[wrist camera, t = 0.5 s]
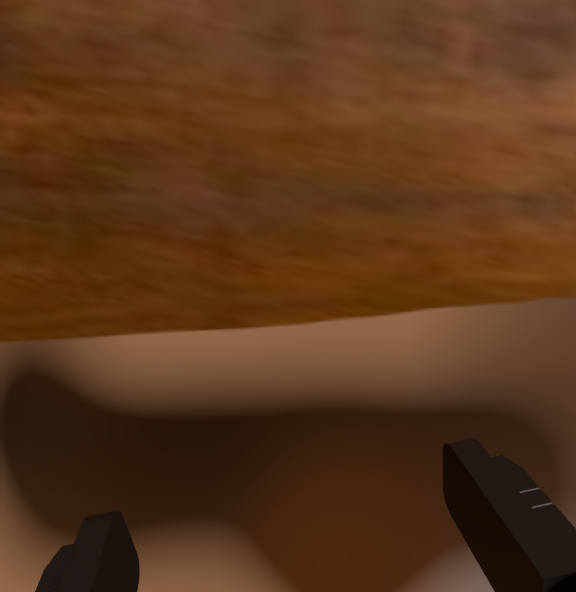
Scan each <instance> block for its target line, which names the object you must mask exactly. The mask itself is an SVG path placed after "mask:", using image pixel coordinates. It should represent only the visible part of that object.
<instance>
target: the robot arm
mask: <svg viewBox="0 0 576 592" xmlns="http://www.w3.org/2000/svg"><path fill="white" fill-rule="evenodd" d="M443 493H444V498H445V502H446V505H447V508H448V510H449V513H450V515H451V517H452V518H453V520H454V522H455V524H456V525H457V527H458V529H459V531H460V532H461V534H462V536H463V538H464V539H465V541H466V543H467V544H468V546H469V548H470V550H471V551H472V553H473V555H474V557H475V558H476V560H477V562H478V563H479V565H480V567H481V569H482V570H483V572H484V574H485V576H486V577H487V579H488V581H489V582H490V584H491V586H492V588H493V590H494V591H495V592H576V529H575V528H574V526H573V525H572V524H571V523H570V522H569V521H568V519H567V518H566V517H565V516H564V515H563V514H562V513H561V511H560V510H559V509H558V508H557V507H556V506H555V505H553V504H552V502H551V500H550V499H549V498H548V496H547V495H546V494H545V493H544V492H543V491H542V490H540V489H539V486H538V485H537V484H536V483H535V481H534V480H533V479H532V478H531V477H530V476H529V475H528V473H527V472H526V471H525V470H524V469H523V468H522V467H520V466H519V465H517V464H515V463H514V462H512V461H511V460H509V459H507V458H506V457H504V456H503V455H500V456H495V457H491V456H490V455H489V454H488V452H487V451H486V450H485V448H484V447H483V446H482V445H481V443H480V442H479V441H478V440H476V439H475V438H470V439H465V440H461V441H456V442H451V443H446V444H444V446H443ZM138 584H139V559H138V554H137V551H136V549H135V546H134V544H133V541H132V538H131V535H130V533H129V530H128V527H127V525H126V522H125V519H124V517H123V514H122V513H121V512H120V511H119V510H117V511H111V512H106V513H102V514H97V515H92V516H87V517H85V518H84V520H83V521H82V524H81V526H80V529H79V531H78V534H77V537H76V540H75V543H74V544H71V545H66V546H62V547H61V549H60V550H59V551H58V552H57V554H56V555H55V556H54V557H53V559H52V560H51V561H50V563H49V564H48V565H47V567H46V568H45V569H44V571H43V574H42V576H41V579H40V581H39V583H38V586H37V588H36V591H35V592H137V589H138Z"/></svg>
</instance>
